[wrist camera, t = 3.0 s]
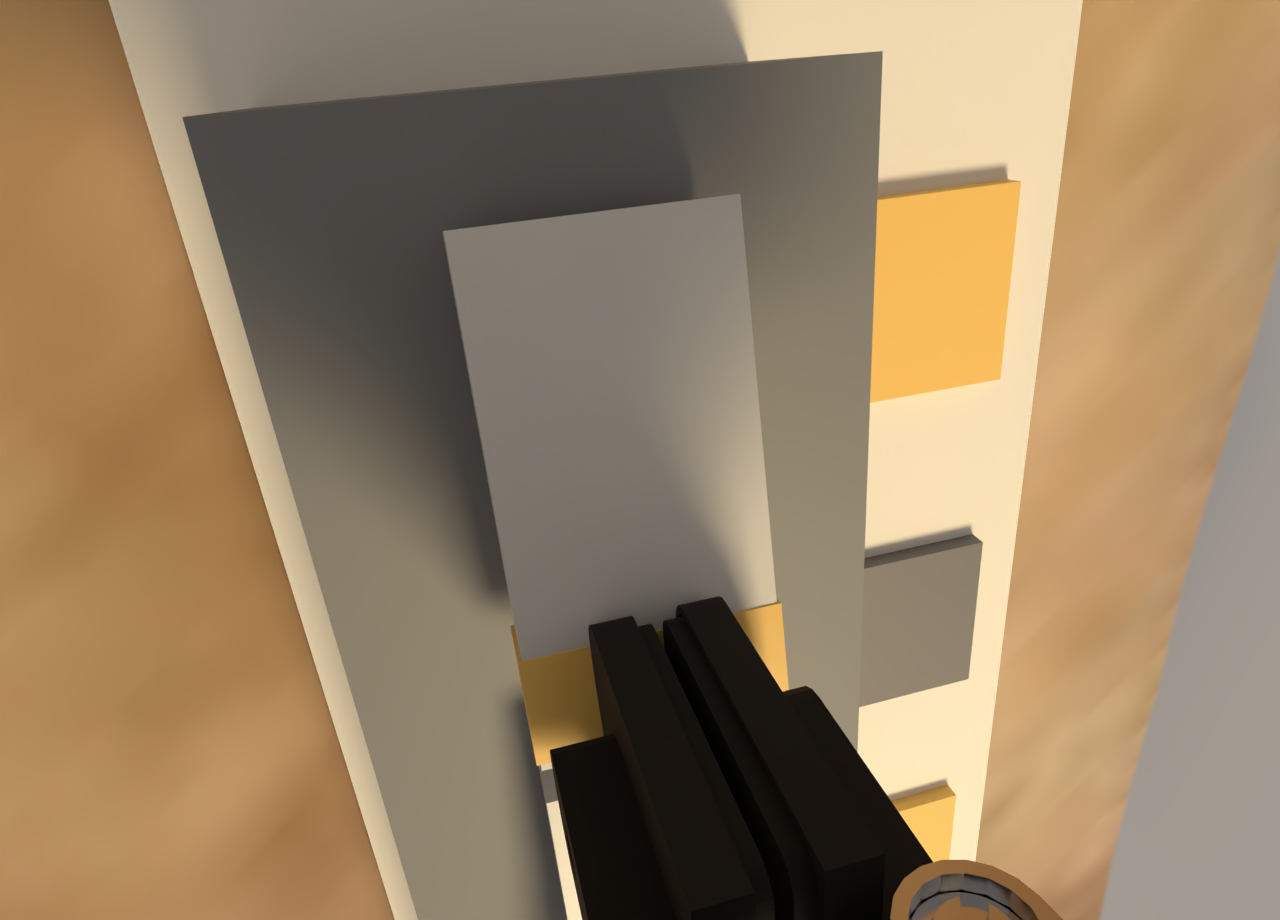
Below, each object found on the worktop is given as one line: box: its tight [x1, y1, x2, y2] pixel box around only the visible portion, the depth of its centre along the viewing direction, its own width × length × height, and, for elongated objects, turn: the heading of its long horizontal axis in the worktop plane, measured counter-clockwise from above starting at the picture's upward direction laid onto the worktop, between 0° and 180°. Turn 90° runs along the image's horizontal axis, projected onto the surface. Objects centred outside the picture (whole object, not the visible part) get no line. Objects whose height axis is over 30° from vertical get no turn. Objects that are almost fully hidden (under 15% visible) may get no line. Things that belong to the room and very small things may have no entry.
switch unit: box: [109, 0, 1083, 920], centre depth 18 cm, size 30×16×6 cm, turn 5°
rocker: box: [443, 194, 789, 771], centre depth 10 cm, size 6×3×1 cm, turn 5°
